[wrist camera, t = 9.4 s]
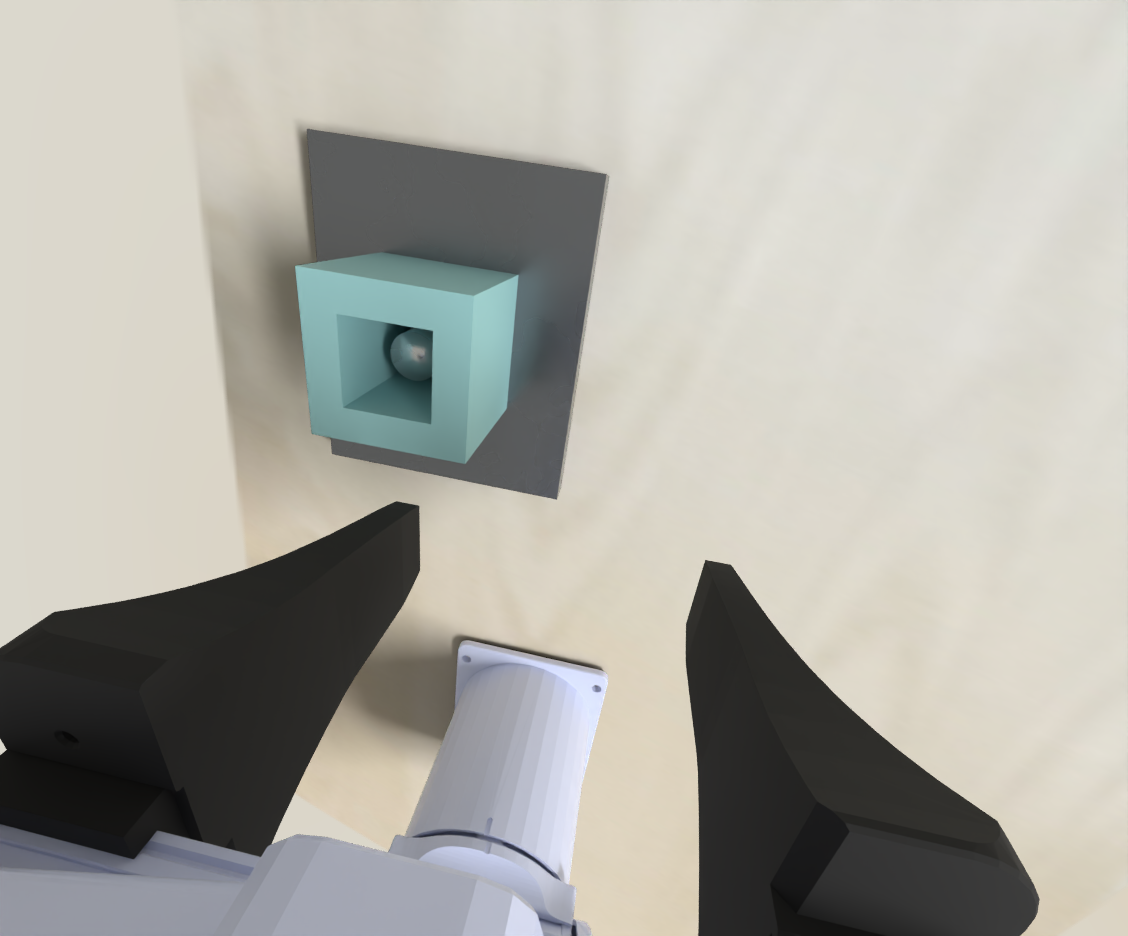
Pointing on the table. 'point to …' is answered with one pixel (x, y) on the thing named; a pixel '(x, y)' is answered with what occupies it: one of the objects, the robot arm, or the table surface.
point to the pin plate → (481, 240)
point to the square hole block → (363, 344)
